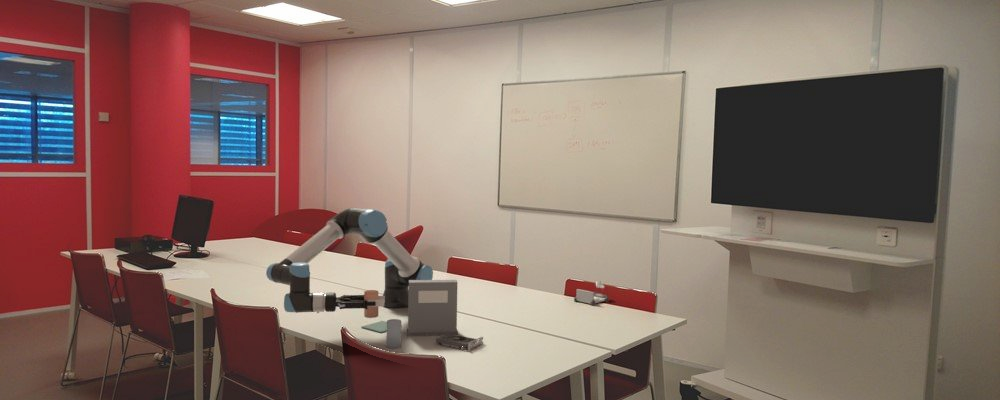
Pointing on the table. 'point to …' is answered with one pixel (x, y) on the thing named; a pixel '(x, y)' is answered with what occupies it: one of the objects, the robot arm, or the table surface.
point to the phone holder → (591, 295)
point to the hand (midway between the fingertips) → (384, 301)
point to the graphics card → (459, 341)
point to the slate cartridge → (393, 333)
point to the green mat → (377, 327)
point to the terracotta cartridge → (371, 311)
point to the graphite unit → (432, 307)
